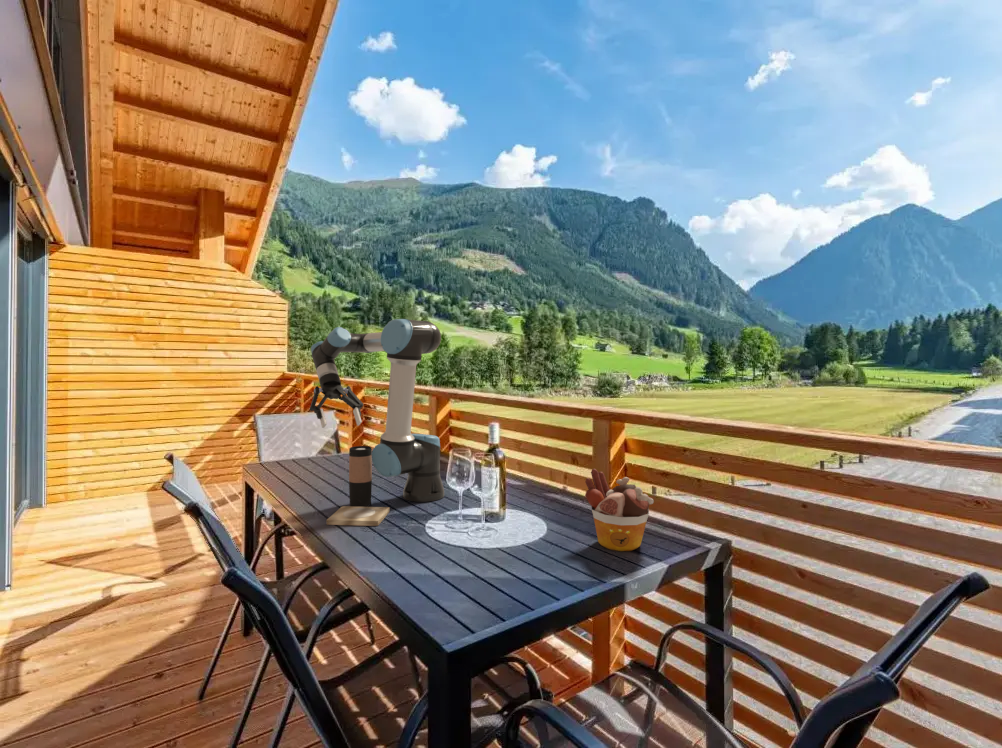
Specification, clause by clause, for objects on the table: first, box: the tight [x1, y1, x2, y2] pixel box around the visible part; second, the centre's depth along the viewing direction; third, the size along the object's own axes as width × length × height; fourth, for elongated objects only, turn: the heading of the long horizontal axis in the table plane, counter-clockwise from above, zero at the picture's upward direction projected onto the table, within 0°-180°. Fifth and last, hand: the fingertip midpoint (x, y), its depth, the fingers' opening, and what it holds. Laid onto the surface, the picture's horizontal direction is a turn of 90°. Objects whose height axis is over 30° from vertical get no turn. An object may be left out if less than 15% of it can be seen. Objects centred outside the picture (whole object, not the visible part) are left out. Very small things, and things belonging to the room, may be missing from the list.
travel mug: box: [348, 445, 373, 507], centre depth 177 cm, size 8×8×20 cm
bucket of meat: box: [584, 468, 654, 552], centre depth 143 cm, size 20×16×20 cm
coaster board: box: [326, 505, 390, 527], centre depth 163 cm, size 16×14×2 cm
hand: (342, 424), depth 187 cm, fingers open, 13 cm apart
